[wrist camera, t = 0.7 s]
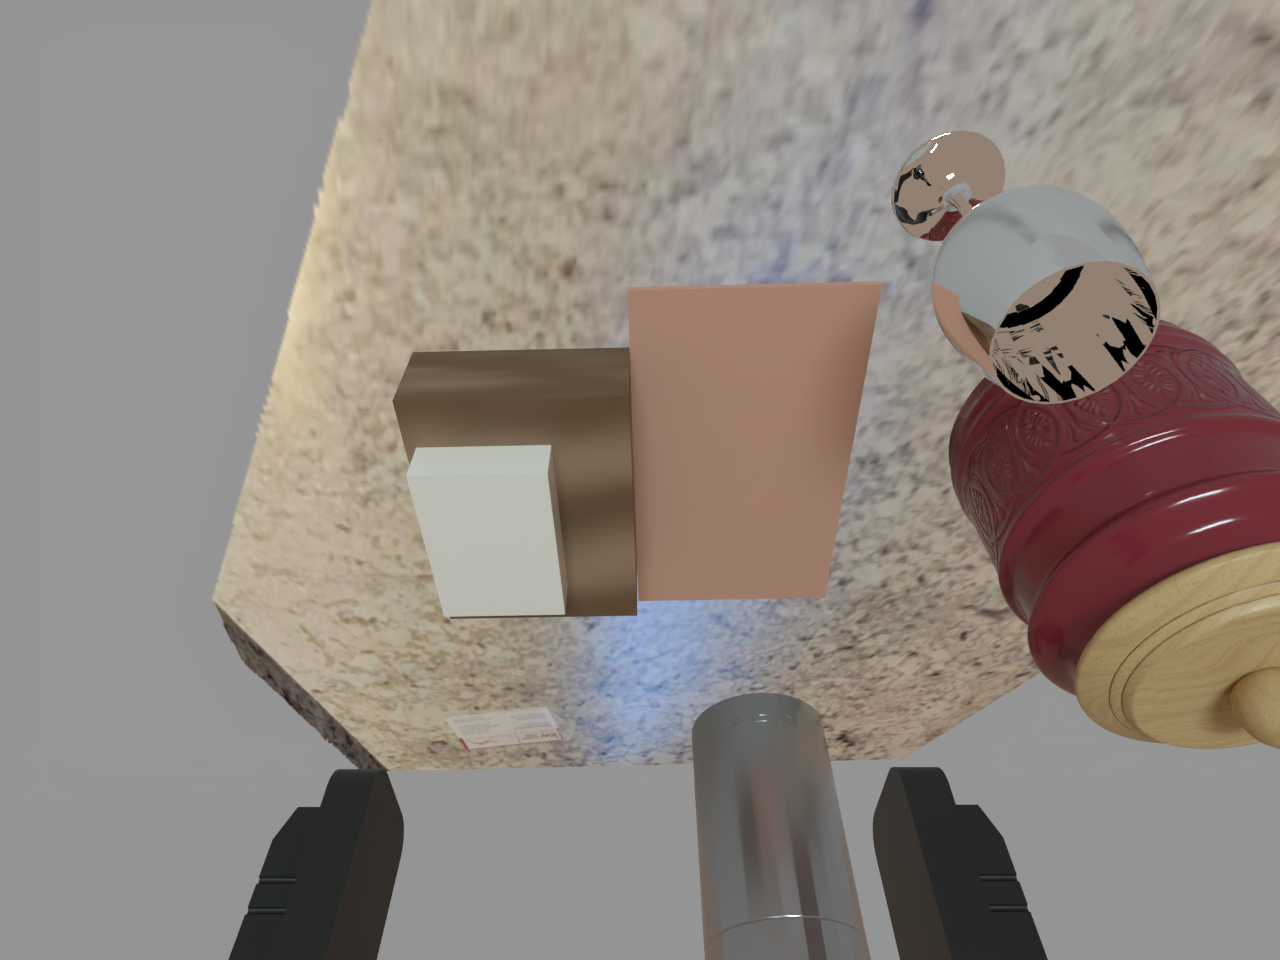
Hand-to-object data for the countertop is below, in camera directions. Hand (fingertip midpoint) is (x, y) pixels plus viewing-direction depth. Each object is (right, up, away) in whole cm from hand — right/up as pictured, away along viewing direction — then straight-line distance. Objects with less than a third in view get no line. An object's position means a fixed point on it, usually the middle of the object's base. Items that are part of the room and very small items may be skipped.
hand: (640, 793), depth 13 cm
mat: (+5, +6, +28) cm, 29 cm away
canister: (+22, +8, +27) cm, 35 cm away
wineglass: (+12, +17, +19) cm, 29 cm away
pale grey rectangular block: (-7, +3, +25) cm, 26 cm away
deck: (-5, +6, +28) cm, 29 cm away
